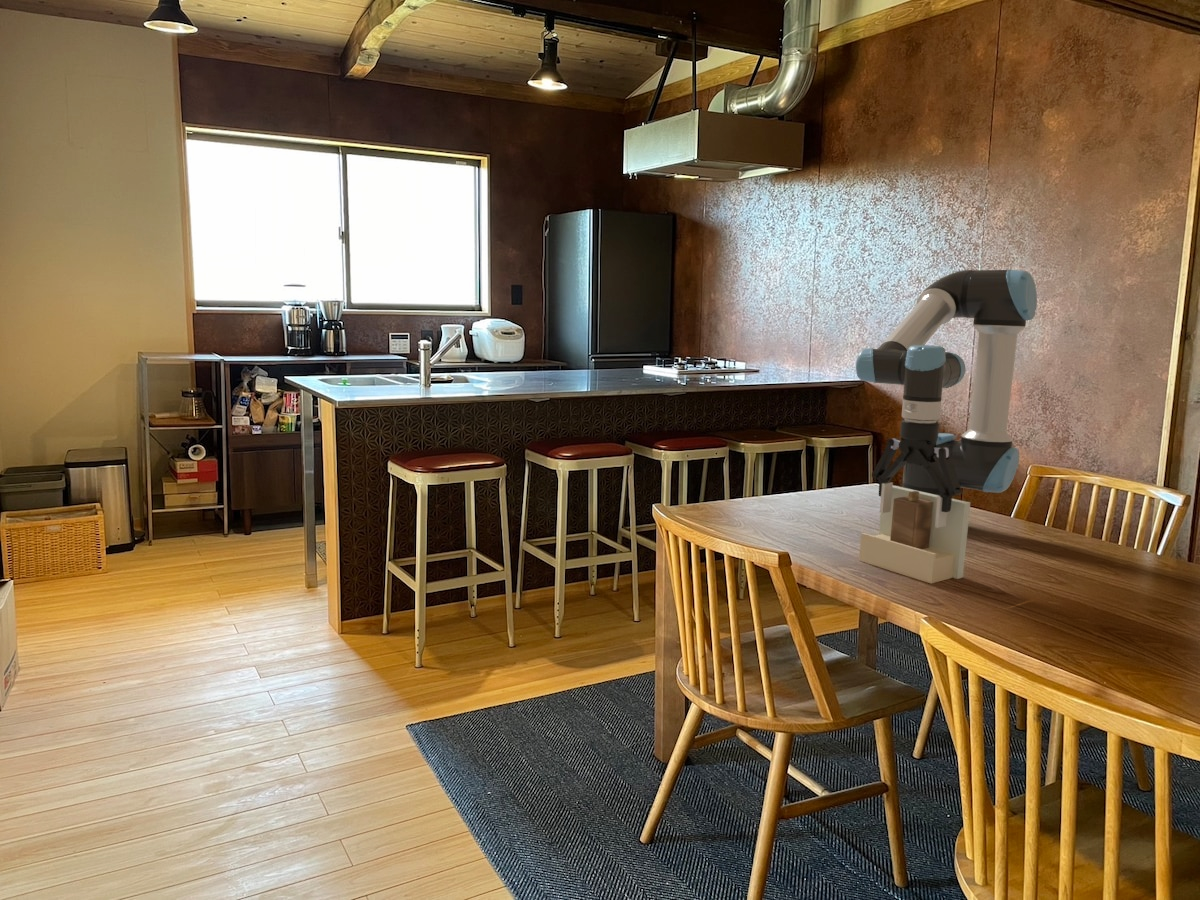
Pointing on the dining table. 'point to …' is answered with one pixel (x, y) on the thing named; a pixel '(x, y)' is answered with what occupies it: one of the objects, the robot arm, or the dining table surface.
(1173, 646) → the dining table surface
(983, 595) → the dining table surface
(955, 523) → the wall board
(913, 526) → the wooden block with peg
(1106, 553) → the dining table surface
